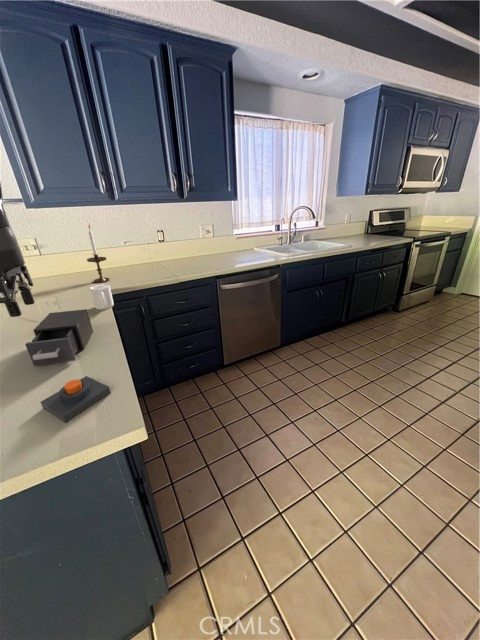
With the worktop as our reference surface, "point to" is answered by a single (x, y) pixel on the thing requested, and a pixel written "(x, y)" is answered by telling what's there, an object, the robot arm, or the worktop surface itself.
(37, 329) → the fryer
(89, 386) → the block
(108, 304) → the cup
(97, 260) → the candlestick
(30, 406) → the worktop surface
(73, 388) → the button
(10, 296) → the robot arm
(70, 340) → the drawer
